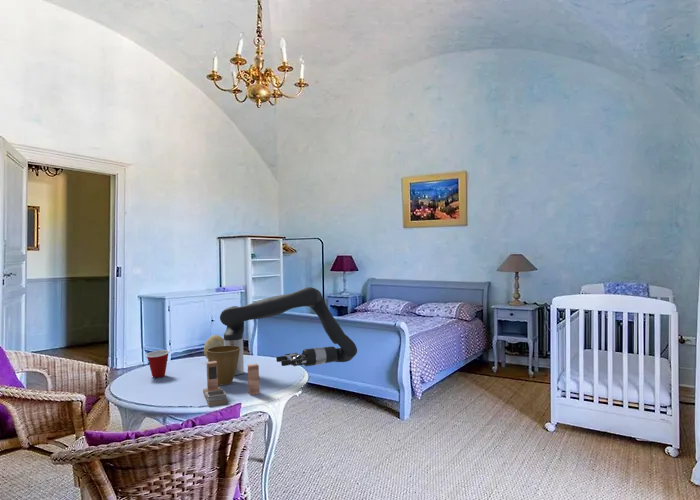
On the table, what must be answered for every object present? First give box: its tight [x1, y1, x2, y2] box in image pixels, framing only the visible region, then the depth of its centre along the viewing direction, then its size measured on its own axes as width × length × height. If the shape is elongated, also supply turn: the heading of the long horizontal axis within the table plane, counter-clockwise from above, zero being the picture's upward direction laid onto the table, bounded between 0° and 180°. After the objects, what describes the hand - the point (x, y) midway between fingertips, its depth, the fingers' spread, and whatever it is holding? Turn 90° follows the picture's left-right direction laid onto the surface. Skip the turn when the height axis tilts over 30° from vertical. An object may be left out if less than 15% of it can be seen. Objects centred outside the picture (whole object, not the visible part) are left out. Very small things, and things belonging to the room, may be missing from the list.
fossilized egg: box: [203, 334, 224, 360], centre depth 257 cm, size 13×13×15 cm
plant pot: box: [207, 346, 240, 386], centre depth 214 cm, size 15×15×16 cm
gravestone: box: [202, 361, 228, 408], centre depth 192 cm, size 21×7×14 cm, turn 23°
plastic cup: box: [145, 349, 170, 378], centre depth 230 cm, size 11×11×12 cm
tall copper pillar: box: [247, 363, 261, 396], centre depth 197 cm, size 4×4×12 cm
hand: (279, 361), depth 201 cm, fingers open, 8 cm apart
